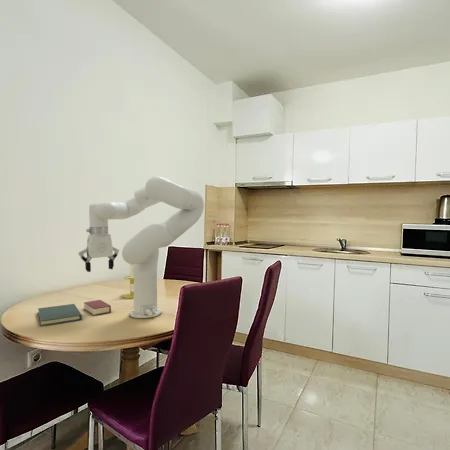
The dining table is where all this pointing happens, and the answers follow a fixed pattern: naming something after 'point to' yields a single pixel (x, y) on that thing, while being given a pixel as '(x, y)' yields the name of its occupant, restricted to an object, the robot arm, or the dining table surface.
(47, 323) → the green book
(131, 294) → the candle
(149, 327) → the dining table surface
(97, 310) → the burgundy book
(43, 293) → the dining table surface
